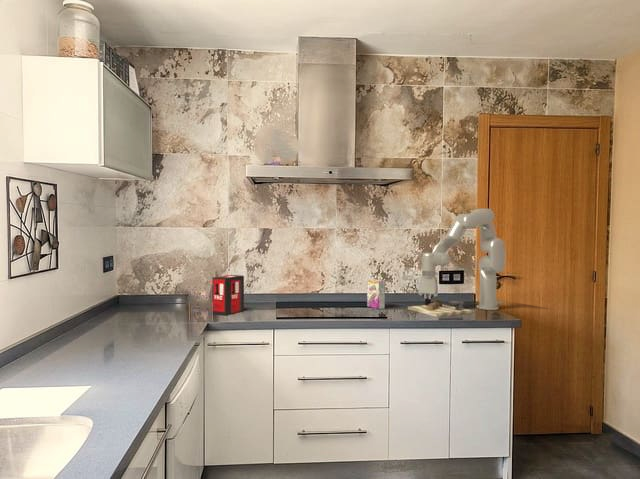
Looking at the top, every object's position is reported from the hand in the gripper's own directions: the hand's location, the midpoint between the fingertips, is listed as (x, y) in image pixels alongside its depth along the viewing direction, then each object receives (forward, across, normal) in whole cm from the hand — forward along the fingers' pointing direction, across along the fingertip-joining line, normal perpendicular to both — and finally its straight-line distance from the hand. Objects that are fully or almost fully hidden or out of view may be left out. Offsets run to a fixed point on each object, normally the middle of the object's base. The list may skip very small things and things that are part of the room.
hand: (427, 305), depth 286 cm
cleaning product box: (+4, +96, +62) cm, 114 cm away
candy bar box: (+3, +30, +6) cm, 30 cm away
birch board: (+3, -7, -1) cm, 7 cm away
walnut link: (+1, -3, -3) cm, 4 cm away
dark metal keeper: (+1, -16, -1) cm, 16 cm away
